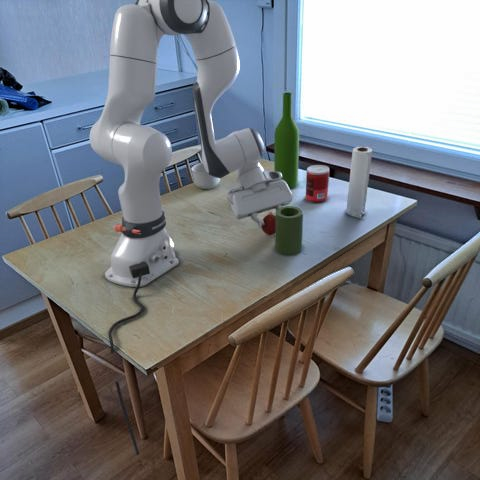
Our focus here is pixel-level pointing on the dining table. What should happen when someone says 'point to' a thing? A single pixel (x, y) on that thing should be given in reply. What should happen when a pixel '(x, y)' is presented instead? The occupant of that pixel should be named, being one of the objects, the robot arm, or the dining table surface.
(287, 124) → the wine bottle
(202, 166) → the teacup
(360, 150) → the paper towel roll
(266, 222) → the onion
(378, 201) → the dining table surface
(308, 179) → the canned food
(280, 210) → the green cylindrical vase
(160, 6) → the robot arm
